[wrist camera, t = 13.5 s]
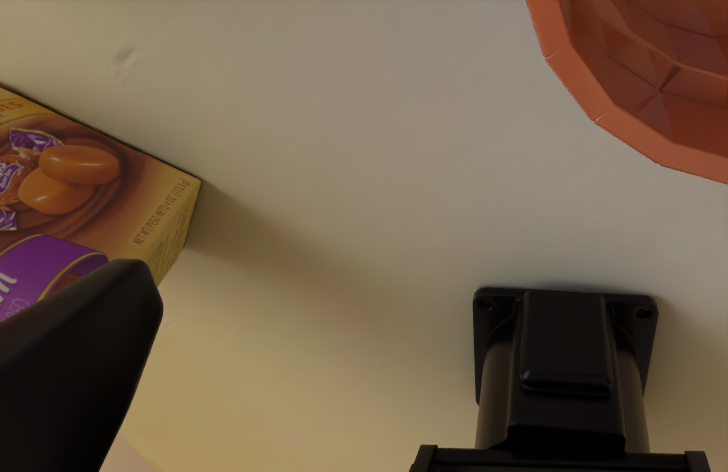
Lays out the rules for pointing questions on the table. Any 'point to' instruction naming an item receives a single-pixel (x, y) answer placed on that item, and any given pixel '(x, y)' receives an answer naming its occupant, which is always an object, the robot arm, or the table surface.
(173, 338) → the table surface
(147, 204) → the candy box
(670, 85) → the bowl
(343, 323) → the table surface
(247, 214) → the table surface
